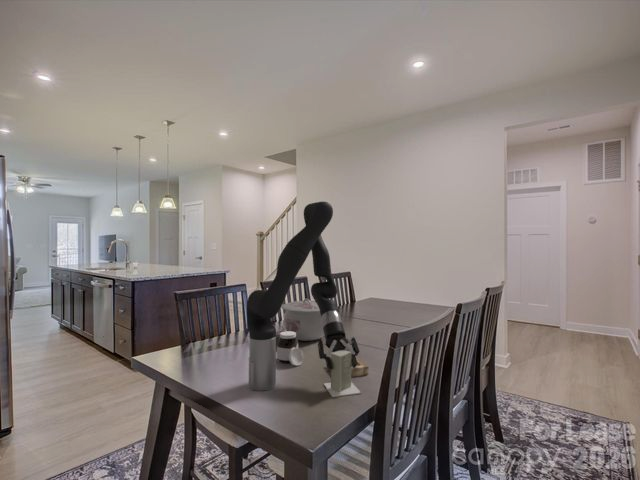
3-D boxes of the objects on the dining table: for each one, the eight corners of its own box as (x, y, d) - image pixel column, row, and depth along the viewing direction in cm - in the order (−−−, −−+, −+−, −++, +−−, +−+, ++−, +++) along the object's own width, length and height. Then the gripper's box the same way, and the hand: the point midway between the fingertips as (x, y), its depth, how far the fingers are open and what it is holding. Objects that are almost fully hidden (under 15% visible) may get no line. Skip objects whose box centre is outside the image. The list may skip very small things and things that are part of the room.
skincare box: (342, 382, 118) (342, 348, 118) (351, 386, 115) (352, 351, 115) (330, 388, 113) (330, 352, 113) (339, 392, 110) (340, 356, 110)
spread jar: (284, 355, 147) (284, 329, 147) (308, 358, 143) (308, 331, 143) (272, 365, 135) (272, 337, 135) (298, 368, 132) (298, 339, 132)
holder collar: (338, 377, 123) (338, 369, 123) (329, 366, 134) (329, 358, 134) (368, 374, 126) (368, 366, 126) (356, 363, 138) (356, 356, 138)
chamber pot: (323, 348, 157) (323, 304, 158) (271, 342, 166) (271, 301, 166) (339, 332, 184) (339, 295, 184) (293, 328, 193) (293, 293, 193)
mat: (332, 397, 108) (332, 396, 108) (323, 384, 117) (323, 383, 117) (360, 393, 110) (360, 392, 110) (350, 381, 120) (350, 380, 120)
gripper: (316, 321, 119) (325, 365, 108) (353, 319, 123) (365, 361, 112) (312, 332, 124) (320, 375, 113) (348, 330, 128) (359, 370, 117)
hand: (343, 368), depth 113 cm, fingers open, 8 cm apart
